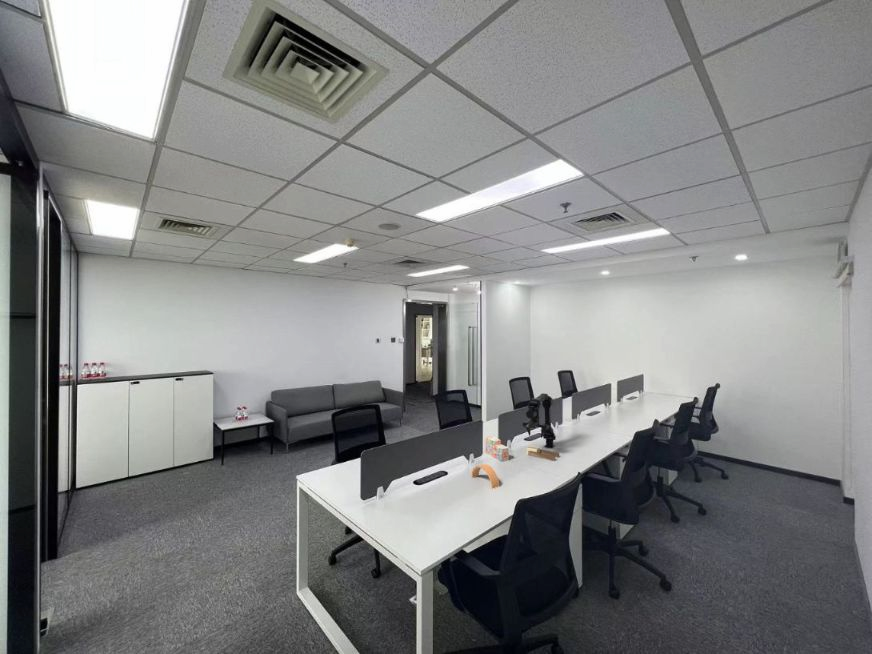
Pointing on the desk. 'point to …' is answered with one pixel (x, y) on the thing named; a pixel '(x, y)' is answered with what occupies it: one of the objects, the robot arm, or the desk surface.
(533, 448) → the block
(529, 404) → the robot arm
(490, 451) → the stack of blocks
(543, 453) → the walnut chute
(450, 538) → the desk surface
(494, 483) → the arch
